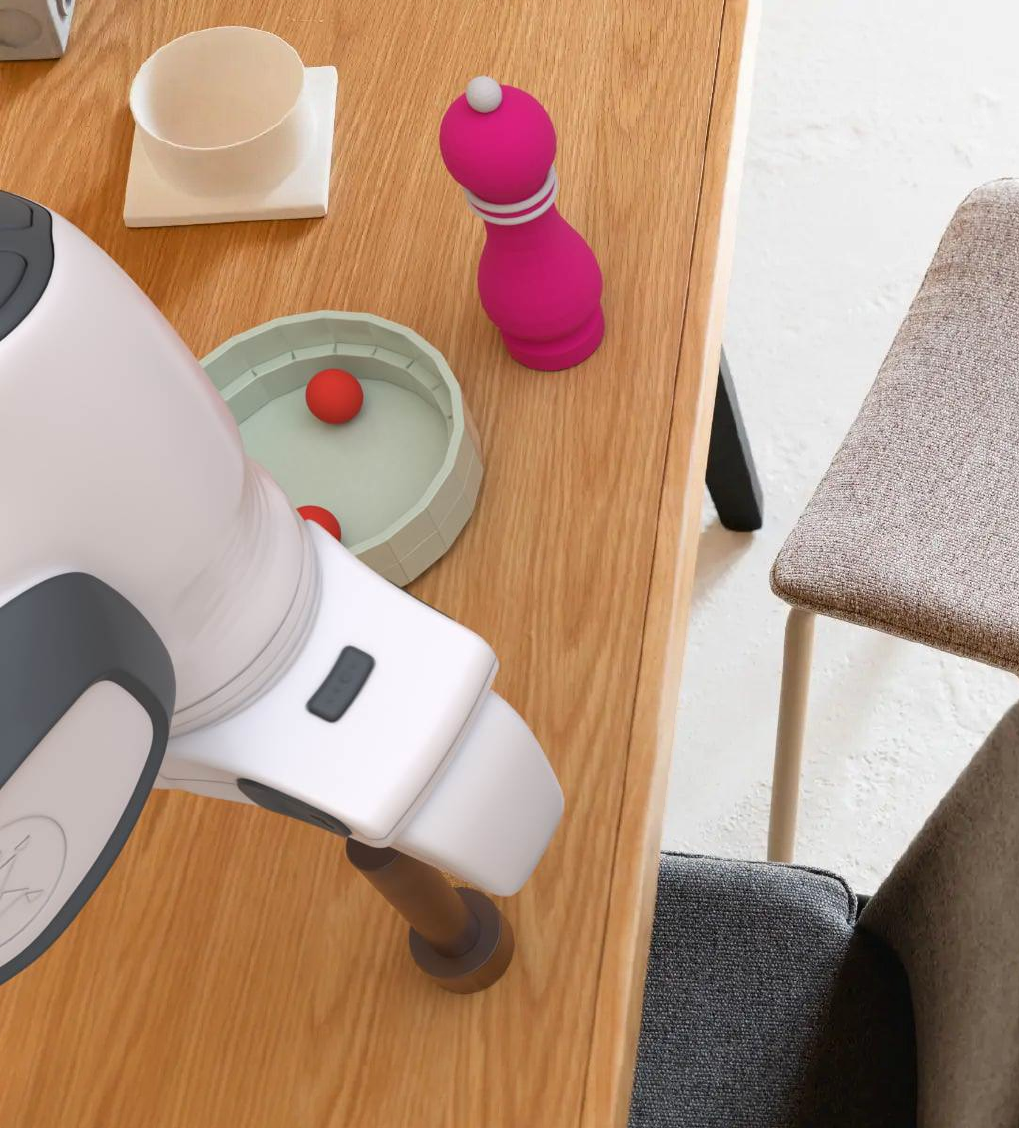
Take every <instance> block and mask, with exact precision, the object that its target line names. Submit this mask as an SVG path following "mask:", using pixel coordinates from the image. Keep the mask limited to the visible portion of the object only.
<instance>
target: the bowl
mask: <svg viewBox="0 0 1019 1128" xmlns="http://www.w3.org/2000/svg"><path fill="white" fill-rule="evenodd" d="M198 362H199V363H200V365H201V366H202V368H203V369H204V370H205V372H206V373H207V375H208V376H209V378H210V379H211V381H212V382H213V384H214V385H215V387H216V388H217V390H218V391H219V393H220V394H221V396H222V397H223V399H224V400H225V402H226V404H227V405H228V407H229V409H230V411H231V412H232V414H233V416H234V418H235V421H236V423H237V426H238V428H239V431H240V434H241V437H242V441H243V445H244V450H245V453H246V454H247V455H249V456H250V457H252V458H253V459H255V460H256V461H257V462H259V463H260V464H261V465H262V466H263V467H264V468H265V469H266V470H267V471H268V472H269V473H270V474H271V475H272V476H273V477H274V478H275V480H276V481H277V482H278V483H279V484H280V485H281V487H282V488H283V490H284V491H285V493H286V494H287V496H288V497H289V498H290V500H291V501H292V503H293V504H294V506H295V508H299V507H302V506H307V505H313V506H319V507H322V508H324V509H326V510H328V511H329V512H331V513H332V514H333V515H334V516H335V518H336V519H337V521H338V523H339V525H340V528H341V541H340V543H341V544H342V545H343V546H344V547H345V548H346V549H347V550H349V551H350V552H351V553H352V554H353V555H354V556H355V557H357V558H358V559H359V560H360V561H362V562H363V563H364V564H365V565H367V566H368V567H369V568H371V569H372V570H373V571H375V572H376V573H377V574H379V575H380V576H382V577H384V578H386V579H388V580H389V581H391V582H393V583H395V584H396V585H398V586H399V587H401V588H403V587H404V586H407V585H408V584H410V583H413V581H415V579H417V578H418V577H419V576H420V575H421V574H423V573H424V572H425V571H426V570H427V569H429V567H431V566H433V564H434V563H436V561H438V560H439V559H440V558H442V557H443V556H444V555H445V554H446V553H447V552H448V551H449V550H450V548H451V547H452V545H453V544H454V543H455V541H456V540H457V538H458V536H459V535H460V533H461V531H462V530H463V529H464V527H465V525H466V524H467V523H468V521H469V519H470V518H471V516H472V515H473V512H474V511H475V507H476V503H477V498H478V494H479V491H480V488H481V483H482V479H483V477H484V471H485V470H484V462H483V453H482V443H481V435H480V432H479V429H478V427H477V424H476V422H475V420H474V417H473V415H472V413H471V410H470V407H469V404H468V402H467V400H466V398H465V394H464V393H463V389H462V388H461V385H460V383H459V382H458V380H457V378H456V376H455V374H454V373H453V371H452V369H451V367H450V366H449V363H448V362H447V360H446V358H445V357H444V355H443V354H442V352H441V351H440V350H438V349H437V348H436V347H434V346H433V345H432V344H431V343H429V341H428V340H426V339H425V338H423V337H422V336H421V335H420V334H419V333H417V332H416V331H415V330H413V329H412V328H410V327H408V326H406V325H403V324H402V323H401V324H400V323H398V322H395V321H392V320H390V319H386V318H384V317H381V316H379V315H376V314H373V313H369V312H358V311H357V312H356V311H343V310H334V309H333V310H332V309H320V310H314V311H307V312H303V313H297V314H291V315H286V316H281V317H280V316H279V317H276V318H273V319H271V320H269V321H266V322H264V323H262V324H259V325H257V326H255V327H252V328H250V329H248V330H245V331H242V332H240V333H238V334H235V335H234V336H231V337H229V338H228V339H227V340H226V341H224V342H223V343H222V344H221V343H220V344H219V345H218V346H217V347H215V349H213V350H212V351H210V352H209V353H208V354H206V355H205V356H203V357H202V358H201V359H199V360H198ZM327 369H341V370H344V371H346V372H348V373H350V374H351V375H353V376H354V377H355V378H356V379H357V380H358V382H359V383H360V385H361V387H362V390H363V404H362V407H361V409H360V411H359V413H358V414H357V415H356V416H355V417H354V418H353V419H351V420H350V421H347V422H345V423H341V424H330V423H326V422H323V421H321V420H319V419H318V418H316V417H315V416H314V415H313V414H312V412H311V411H310V410H309V408H308V406H307V403H306V398H305V393H306V388H307V385H308V383H309V381H310V380H311V379H312V377H313V376H315V375H316V374H317V373H319V372H321V371H323V370H327Z"/></svg>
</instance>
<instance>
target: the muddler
mask: <svg viewBox="0 0 1019 1128" xmlns="http://www.w3.org/2000/svg"><path fill="white" fill-rule="evenodd" d="M345 853H346V856H347V859H348V861H349V862H350V863H351V865H353V867H354V868H355V869H356V870H357V871H358V872H359V873H360V874H361V875H362V876H363V878H365V880H367V881H368V882H369V883H370V884H371V886H373V887H374V888H375V889H376V890H377V892H378V893H379V894H380V895H381V896H382V897H383V898H384V899H385V900H386V901H387V902H388V903H389V905H391V906H392V908H394V909H395V910H396V911H397V912H398V914H400V916H401V917H402V918H403V919H404V920H405V921H406V922H407V923H408V924H409V925H410V926H409V930H408V947H409V950H410V954H411V957H412V958H413V961H414V962H415V964H416V965H417V966H418V967H419V968H420V969H421V970H422V971H423V972H424V973H425V974H426V975H427V976H428V977H429V978H430V979H431V980H432V981H433V982H434V983H435V984H436V985H438V986H439V987H440V988H442V989H443V990H445V991H447V992H450V993H454V994H462V995H463V994H465V995H466V994H474V993H477V992H480V991H482V990H485V989H487V988H489V987H490V986H492V985H494V984H495V983H496V982H497V981H498V980H499V979H500V978H501V977H502V976H503V975H504V973H505V972H506V970H507V969H508V968H509V965H510V964H511V961H512V959H513V956H514V950H515V937H514V932H513V928H512V926H511V924H510V923H509V921H508V920H507V918H506V917H505V916H504V914H503V912H501V910H500V909H499V907H498V906H497V905H496V904H495V902H494V901H493V900H492V899H491V898H490V896H488V895H487V894H485V892H483V891H480V890H478V889H475V888H471V887H467V886H466V887H465V886H456V887H454V886H453V885H452V884H451V883H450V881H448V879H447V878H446V876H445V875H444V874H443V873H442V871H441V870H439V869H437V868H435V867H433V866H431V865H429V864H426V863H424V862H422V861H420V860H418V859H415V858H413V857H411V856H409V855H407V854H405V853H402V852H400V851H398V850H396V849H394V848H391V847H389V846H388V847H385V848H376V847H372V846H369V845H367V844H364V843H362V842H360V841H357V840H355V839H353V838H350V837H346V841H345Z"/></svg>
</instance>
